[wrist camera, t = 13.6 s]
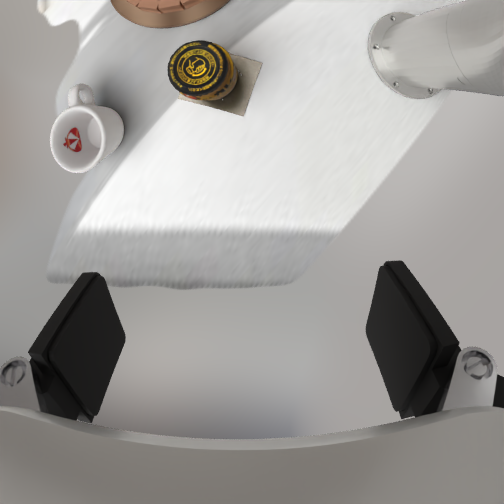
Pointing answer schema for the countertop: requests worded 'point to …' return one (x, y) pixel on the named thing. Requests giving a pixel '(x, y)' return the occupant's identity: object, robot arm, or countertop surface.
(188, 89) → the condiment
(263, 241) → the countertop surface
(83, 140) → the cup
